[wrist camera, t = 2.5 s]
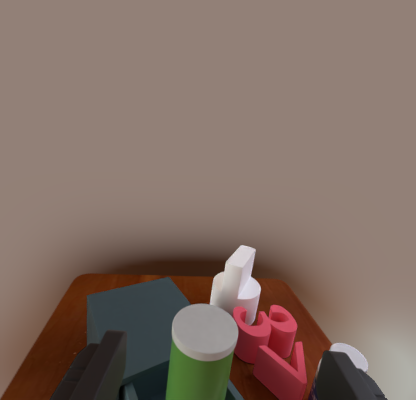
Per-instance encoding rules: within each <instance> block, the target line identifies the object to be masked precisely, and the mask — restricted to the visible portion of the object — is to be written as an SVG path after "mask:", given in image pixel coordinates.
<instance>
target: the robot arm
mask: <svg viewBox="0 0 416 400" xmlns="http://www.w3.org/2000/svg"><path fill="white" fill-rule="evenodd" d="M126 351H127V331H120V330H109V329H108V330H107V331H106V332H105V334H104V336H103V338H102V340H101V342H100V344H97V343H90V344H88V345H87V346H86V347H85V348H84V349H83V350H81V351H80V352H79V353H78V354H77V356H76V358H75V359H74V361H73V362H72V364H71V366H70V369H68V371H67V372H66V374H65V375H64V377H63V380H61V382H60V383H59V385H58V387H57V388H56V390H55V392H54V393H53V395H52V396H51V398H50V400H115V399H116V397H117V394H118V391H119V388H120V385H121V383H122V380H123V376H124V372H125V366H126ZM316 391H317V396H318V399H319V400H387V398H385V395H384V394H383V393H382V391H381V390H380V388H379V387H378V385H377V384H376V383H375V381H374V380H373V379H372V378H370V377H369V376H368V375H367V374H366V373H365V372H364V371H363V370H362V369H360V368H356V366H355V365H354V363H353V362H352V360H351V359H350V357H349V356H348V355H347V354H346V353H345V352H337V351H324V353H323V355H322V359H321V363H320V368H319V372H318V376H317V380H316Z"/></svg>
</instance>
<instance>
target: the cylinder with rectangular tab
mask: <svg viewBox="0 0 416 400" xmlns="http://www.w3.org/2000/svg"><path fill="white" fill-rule="evenodd" d="M254 256H255V249H253V248H251V247H247V246H243V245H241V246H240V247H239V248H238V249H237V250H236V252H235V253H234V254H233V255H232V256H231V257H230V258H229V259H228V260H227V261H226V265H225V272H221V273H219V274H217V275H216V276H215V277H214V279H213V286H212V293H211V300H210V305H213V306H216V307H219V308H221V309H223V310H225V311H226V312H227V313H229V314H230V315H231V316H232V315H233V310H234V308H235V307H238V306H240V307H243V308H245V309H246V310H247V313H246V318H245V324H247V325H251V324H252V323H253V322H254V320H255V316H256V311H257V306H258V301H259V296H260V291H261V288H260V285H259V283H258V282H257V281H256V280H255V279H254V278H252V277H251V272H252V266H253V261H254Z"/></svg>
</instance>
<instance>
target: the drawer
mask: <svg viewBox="0 0 416 400" xmlns="http://www.w3.org/2000/svg"><path fill="white" fill-rule="evenodd" d="M168 371H169V365H168V366H166V367H163V368H161V369H159V370H157V371H154V372H152V373H150V374H147V375H145V376H143V377H141V378H138V379H136V380H134V381H131V382H129V383H127V384H124V385H122V386H120V388H119V400H165V399H166V390H167V381H168ZM225 400H244V399H243V397H242V396H241V395H240V393H239V392H238V390H237V389H236V388H235V386H234V385H233V384H232V382H231V381H230V379H229V380H228V386H227V391H226V397H225Z"/></svg>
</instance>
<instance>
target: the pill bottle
mask: <svg viewBox="0 0 416 400" xmlns="http://www.w3.org/2000/svg"><path fill="white" fill-rule="evenodd" d="M330 351H337V352H345V353H346V354H347V355H348V356H349V357H350V359H351V360H352V362H353V363H354V365H355V366H356V368H360V369H362V370H363V371H364V372H365V373H367V370H368V363H367V360H366V359H365V357H364V356H363V355H362V354H361V353H360V352H359V351H358V350H356V349H355V348H353V347H352V346H349V345H347V344H344V343H335V344H333V345H332V346H331V348H330ZM320 363H321V360H320V362H319V365H318V367H317V371H316V374H315V378H314V381H313V384H312V388H311V391H310V395H309V398H308V400H319V399H318V396H317V391H316V380H317V376H318V372H319V368H320Z"/></svg>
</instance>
